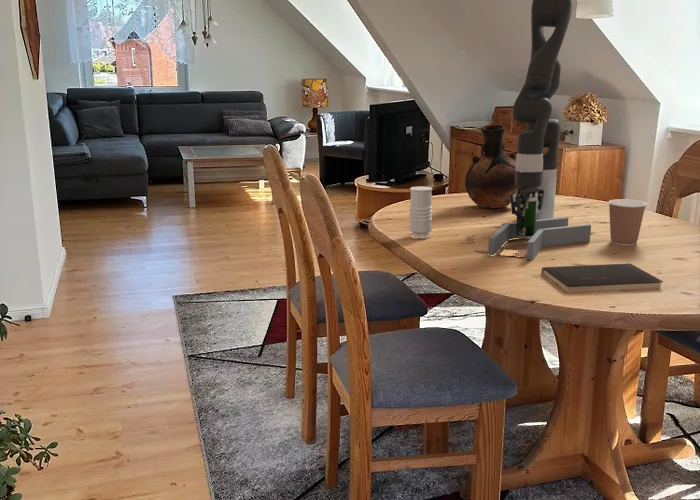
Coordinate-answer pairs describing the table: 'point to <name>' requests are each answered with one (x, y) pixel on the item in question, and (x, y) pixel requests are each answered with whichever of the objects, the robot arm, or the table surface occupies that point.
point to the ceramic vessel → (492, 171)
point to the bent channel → (542, 235)
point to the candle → (420, 211)
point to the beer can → (529, 220)
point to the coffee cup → (625, 220)
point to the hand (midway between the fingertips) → (526, 226)
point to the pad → (521, 253)
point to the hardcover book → (601, 277)
